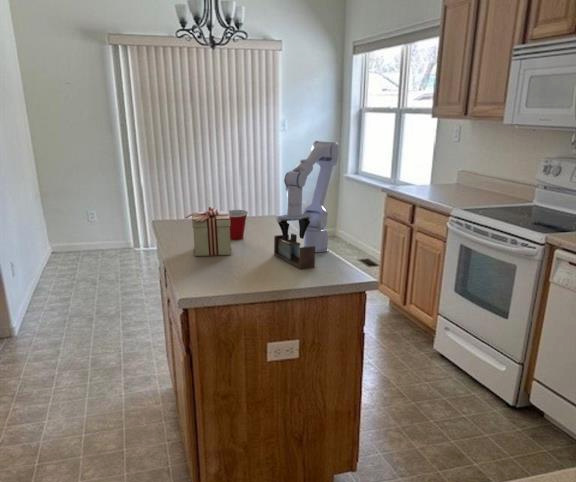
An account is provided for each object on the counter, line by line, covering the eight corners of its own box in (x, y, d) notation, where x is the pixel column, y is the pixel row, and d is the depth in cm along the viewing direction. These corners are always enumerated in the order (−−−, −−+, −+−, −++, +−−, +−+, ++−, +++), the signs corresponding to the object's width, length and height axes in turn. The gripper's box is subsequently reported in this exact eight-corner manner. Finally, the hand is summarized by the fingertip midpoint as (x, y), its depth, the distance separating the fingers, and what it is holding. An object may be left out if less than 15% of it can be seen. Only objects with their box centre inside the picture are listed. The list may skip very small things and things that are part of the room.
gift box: (185, 247, 223) (183, 206, 217) (229, 246, 227) (228, 205, 221) (187, 258, 208) (185, 214, 201) (234, 256, 212) (233, 213, 205)
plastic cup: (219, 239, 237) (219, 212, 232) (231, 234, 246) (230, 208, 242) (241, 242, 233) (241, 215, 229) (252, 237, 242) (252, 210, 238)
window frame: (287, 253, 218) (287, 234, 215) (314, 267, 200) (315, 246, 197) (274, 255, 215) (274, 235, 212) (300, 269, 197) (301, 248, 194)
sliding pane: (288, 253, 214) (289, 231, 211) (300, 258, 207) (300, 236, 203) (286, 253, 214) (287, 231, 210) (297, 258, 206) (298, 236, 203)
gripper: (282, 206, 196) (281, 243, 201) (316, 204, 202) (314, 239, 207) (273, 203, 202) (273, 238, 207) (307, 201, 208) (305, 235, 213)
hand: (293, 238), depth 207 cm, fingers open, 6 cm apart
